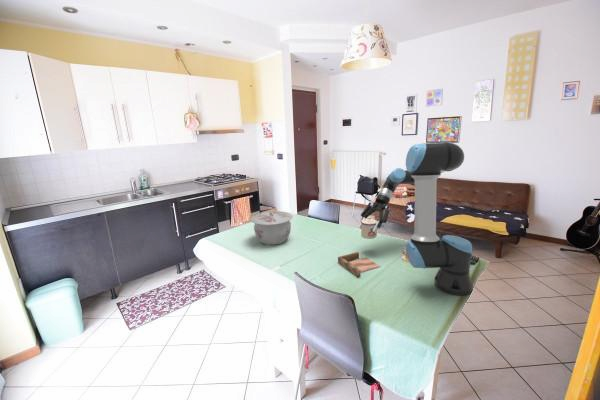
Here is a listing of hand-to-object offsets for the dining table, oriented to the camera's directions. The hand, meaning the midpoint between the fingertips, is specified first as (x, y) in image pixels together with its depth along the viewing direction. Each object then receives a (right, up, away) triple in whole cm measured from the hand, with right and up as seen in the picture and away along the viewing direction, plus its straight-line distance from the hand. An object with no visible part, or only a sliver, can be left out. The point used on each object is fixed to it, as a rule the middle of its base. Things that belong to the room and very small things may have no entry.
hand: (367, 229), depth 158 cm
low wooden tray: (-6, -18, -9) cm, 21 cm away
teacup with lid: (+3, -4, +3) cm, 6 cm away
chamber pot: (-56, -11, +30) cm, 64 cm away
